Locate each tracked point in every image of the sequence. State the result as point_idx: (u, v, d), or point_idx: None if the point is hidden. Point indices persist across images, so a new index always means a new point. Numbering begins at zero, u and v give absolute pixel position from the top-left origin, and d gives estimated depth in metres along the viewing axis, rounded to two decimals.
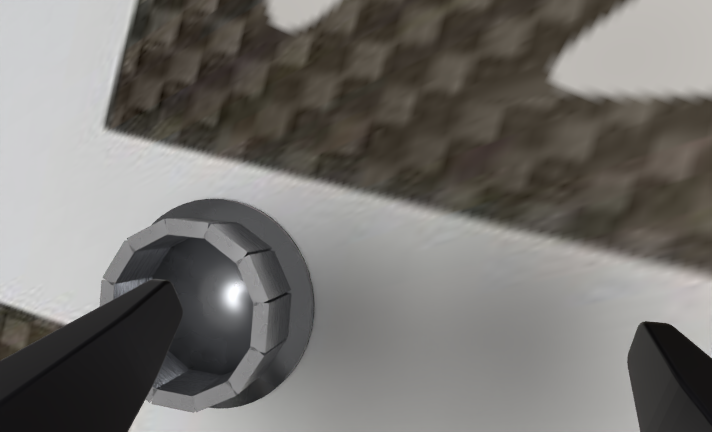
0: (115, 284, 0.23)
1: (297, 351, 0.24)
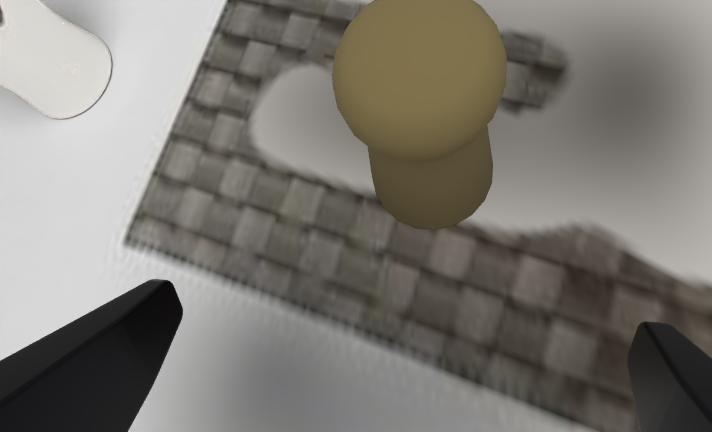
0: None
1: None
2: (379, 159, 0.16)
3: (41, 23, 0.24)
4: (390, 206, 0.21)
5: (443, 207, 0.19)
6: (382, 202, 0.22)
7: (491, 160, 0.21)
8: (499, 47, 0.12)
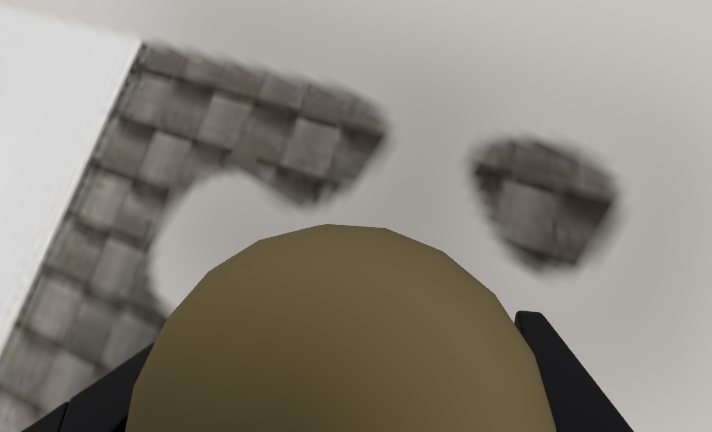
0: None
1: None
2: None
3: None
4: None
5: None
6: None
7: None
8: None
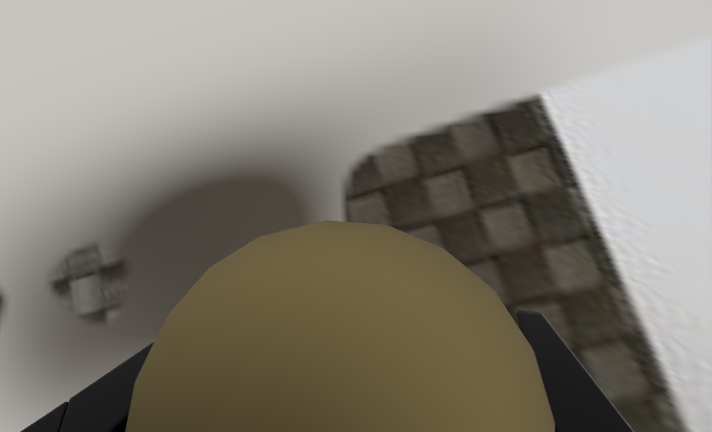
0: None
1: None
2: None
3: None
4: None
5: None
6: None
7: None
8: None
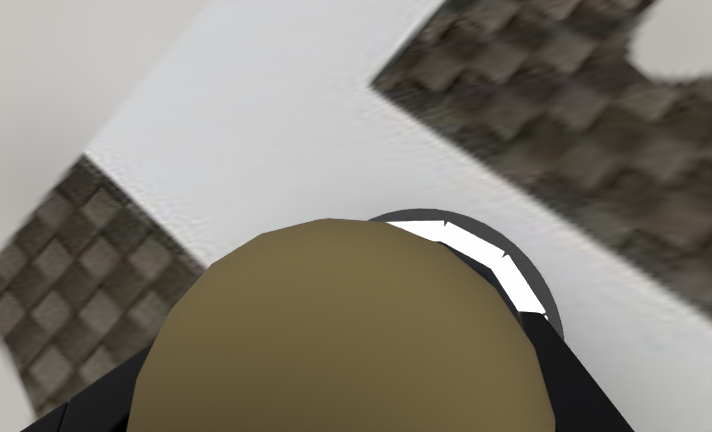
0: None
1: None
2: None
3: None
4: None
5: None
6: None
7: None
8: None
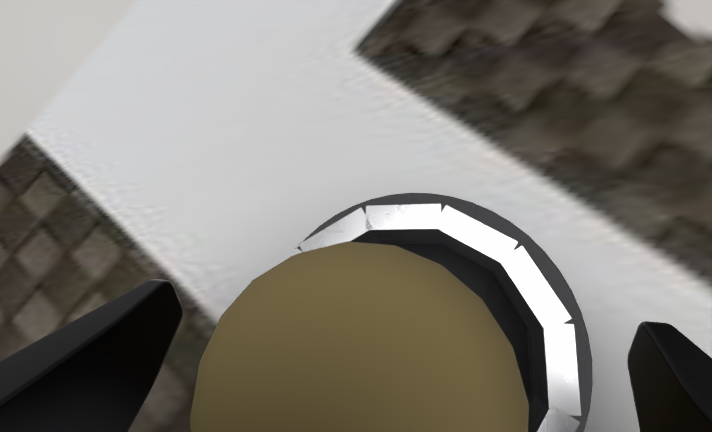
0: None
1: None
2: None
3: None
4: None
5: None
6: None
7: None
8: (516, 427, 0.06)
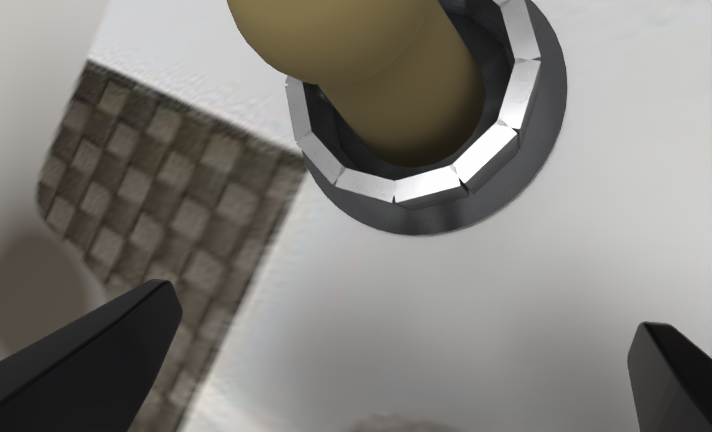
0: None
1: (530, 171, 0.18)
2: (331, 96, 0.14)
3: None
4: (375, 151, 0.19)
5: (429, 135, 0.16)
6: (369, 149, 0.20)
7: (476, 67, 0.17)
8: None
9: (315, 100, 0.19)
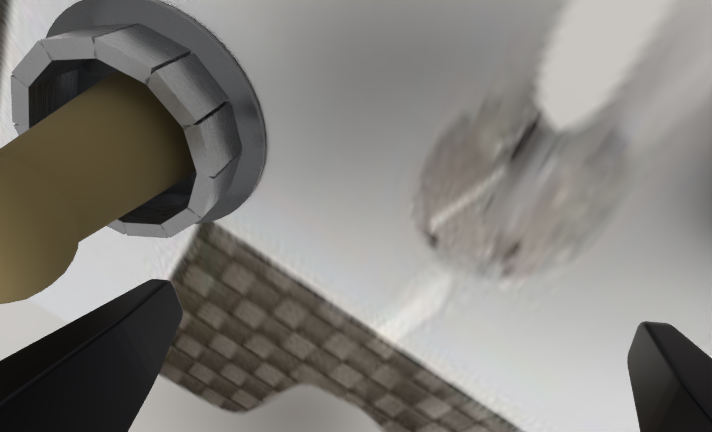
0: None
1: (209, 45, 0.19)
2: (107, 222, 0.18)
3: None
4: (185, 173, 0.22)
5: (162, 137, 0.19)
6: (189, 174, 0.23)
7: (116, 77, 0.20)
8: None
9: (143, 211, 0.23)
